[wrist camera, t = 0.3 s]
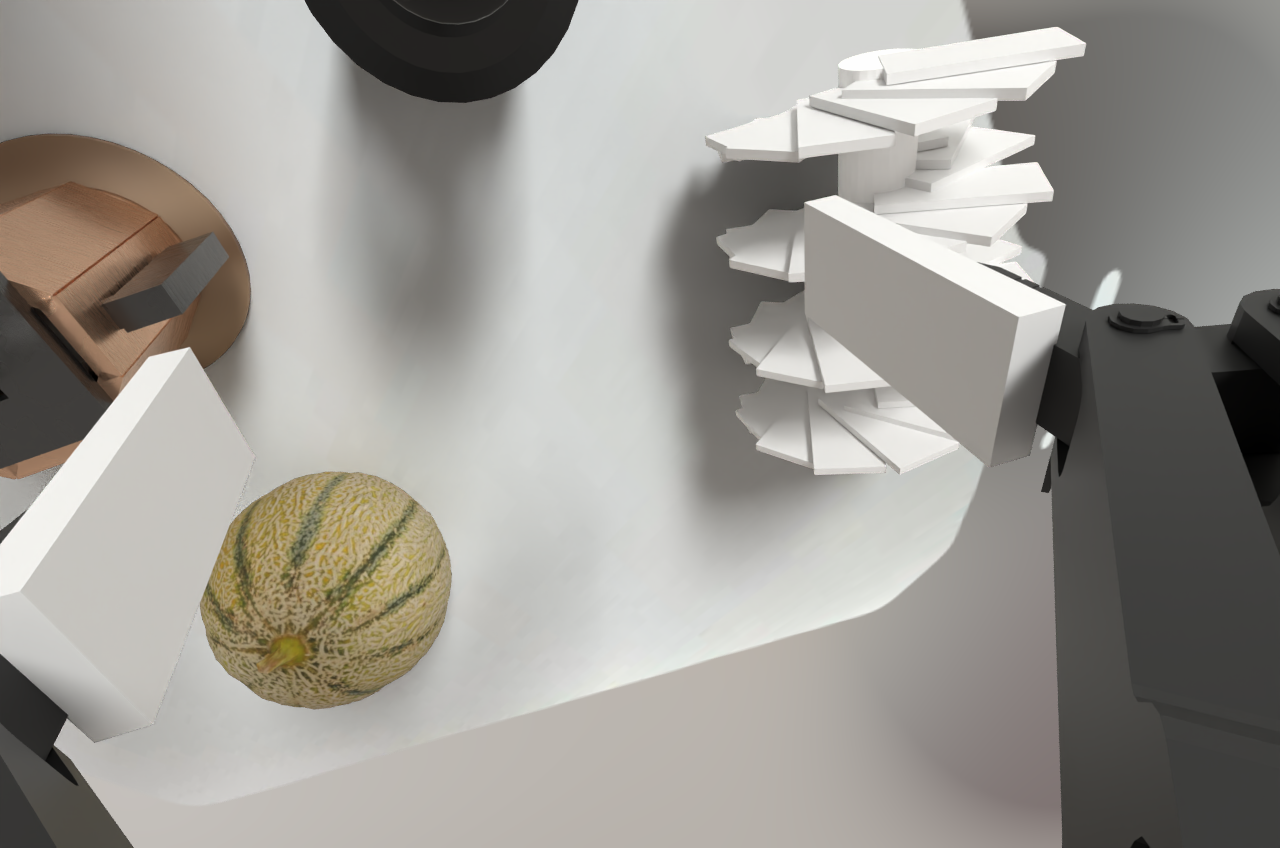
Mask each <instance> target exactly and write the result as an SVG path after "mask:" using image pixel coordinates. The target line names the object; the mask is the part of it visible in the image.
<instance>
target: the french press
mask: <svg viewBox="0 0 1280 848" xmlns="http://www.w3.org/2000/svg"><path fill="white" fill-rule="evenodd" d="M305 2H306V4H307V6H308V8H309V10H310V11H311V13H312V15H313V16H314V17H315V18H316V20H317V21H318V22H319V24H320V25H321V26H322V28H323V29H324V30H325V32H326V33H327V34H328V36H329V37H330V38H331V39H332V41H333V42H334V43H335V44H336V45H337V46H338V47H339V48H340V49H341V50H342V51H344V52H345V53H346V54H347V55H348V56H349V57H350V58H351V59H352V60H353V61H354V62H355V63H356V64H357V65H358V66H360V67H361V68H363V69H364V70H366V71H367V72H369V73H370V74H372V75H373V76H375V77H376V78H377V79H379V80H380V81H382V82H383V83H385V84H387V85H390V86H392V87H394V88H396V89H399V90H401V91H403V92H405V93H407V94H410V95H412V96H416V97H421V98H425V99H429V100H433V101H437V102H458V103H467V102H472V101H478V100H483V99H489V98H492V97H495V96H497V95H500V94H502V93H504V92H507V91H509V90H511V89H514V88H516V87H517V86H518V85H520V84H521V83H522V82H524V81H525V80H527V79H528V78H529V77H531V76H532V75H534V74H535V73H536V72H537V71H538V70H539V69H540V68H541V67H542V66H543V64H544V63H545V62H546V61H547V60H548V59H549V58H550V57H551V56H552V54H553V53H554V52H555V50H556V49H557V47H558V45H559V43H560V42H561V40H562V38H563V37H564V35H565V33H566V32H567V30H568V28H569V25H570V22H571V20H572V17H573V14H574V11H575V8H576V6H577V3H578V0H305Z"/></svg>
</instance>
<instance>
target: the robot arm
mask: <svg viewBox="0 0 1280 848" xmlns="http://www.w3.org/2000/svg"><path fill="white" fill-rule="evenodd" d="M804 257H805V315H806V316H808V317H809V318H810V319H811V320H812V321H814V322H815V323H816V324H817V325H818V326H820V327H821V328H822V329H823V330H824V331H826V332H827V333H828V334H829V335H830V336H832V337H833V338H834V339H835V340H836V341H838V342H839V343H840V344H841V345H842V346H844V347H845V348H846V349H847V350H848V351H850V352H851V353H852V354H853V355H854V356H856V357H857V358H858V359H859V360H860V361H862V362H863V363H864V364H865V365H866V366H868V367H869V368H870V369H871V370H872V371H874V372H875V373H876V374H877V375H878V376H880V377H881V378H882V379H883V380H884V381H886V382H887V383H888V384H889V385H890V386H892V387H893V388H894V389H895V390H896V391H898V392H899V393H900V394H901V395H902V396H904V397H905V398H906V399H907V400H909V401H910V402H911V403H912V404H913V405H915V406H916V407H917V408H918V409H919V410H921V411H922V412H923V413H924V414H925V415H927V416H928V417H929V418H930V419H931V420H933V421H934V422H935V423H936V424H937V425H939V426H940V427H941V428H942V429H943V430H945V431H946V432H947V433H948V434H949V435H951V436H952V437H953V438H954V439H955V440H957V441H958V442H959V443H960V444H961V445H963V446H964V447H965V448H966V449H967V450H969V451H970V452H971V453H972V454H973V455H975V456H976V457H977V458H978V459H979V460H981V461H982V462H983V463H984V464H985V465H987V466H988V467H989V468H990V467H994V466H997V465H1000V464H1003V463H1006V462H1010V461H1013V460H1017V459H1020V458H1023V457H1026V456H1030V453H1031V449H1032V444H1033V440H1034V436H1035V432H1036V427H1037V424H1038V425H1039V426H1041V427H1043V428H1044V429H1045V430H1047V431H1048V432H1050V433H1051V434H1052V435H1054V436H1055V441H1054V444H1053V448H1052V452H1051V456H1050V460H1049V464H1048V467H1047V471H1046V475H1045V479H1044V483H1043V487H1042V490H1041V492H1046V493H1049V491H1050V489H1052V521H1053V550H1054V551H1053V553H1054V586H1055V614H1056V615H1055V616H1056V649H1057V681H1058V712H1059V743H1060V774H1061V776H1060V777H1061V808H1062V848H1280V289H1271V290H1263V291H1256V292H1253V293H1250V294H1248V295H1245V296H1243V298H1242V300H1241V301H1240V303H1239V306H1238V309H1237V311H1236V313H1235V316H1234V318H1233V321H1232V324H1227V325H1215V326H1202V327H1194V326H1193V325H1192V323H1191V322H1190V321H1189V320H1188V319H1187V318H1185V317H1184V316H1182V315H1179V314H1177V313H1176V312H1173V311H1171V310H1167V309H1163V308H1160V307H1156V306H1150V305H1141V304H1112V305H1107V306H1103V307H1098V308H1097V309H1095V310H1091V309H1089V308H1087V307H1085V306H1083V305H1081V304H1079V303H1076V302H1074V301H1072V300H1070V299H1068V298H1066V297H1063V296H1061V295H1059V294H1057V293H1055V292H1053V291H1051V290H1048V289H1046V288H1044V287H1043V288H1039V285H1038V284H1036V283H1033V282H1031V281H1029V280H1027V279H1024V280H1022V277H1020V276H1018V275H1016V274H1014V273H1012V272H1010V271H1008V270H1005V269H1003V268H1001V267H997V266H993V265H988V264H984V263H979V262H976V261H973V260H971V259H969V258H967V257H965V256H963V255H961V254H959V253H957V252H954V251H952V250H950V249H948V248H946V247H944V246H942V245H940V244H938V243H936V242H933V241H931V240H929V239H927V238H925V237H923V236H921V235H919V234H917V233H915V232H912V231H910V230H908V229H906V228H904V227H902V226H900V225H898V224H896V223H893V222H891V221H889V220H887V219H885V218H883V217H881V216H879V215H877V214H875V213H872V212H870V211H868V210H866V209H864V208H862V207H860V206H858V205H856V204H854V203H851V202H849V201H847V200H845V199H843V198H841V197H839V196H837V195H833V196H829V197H825V198H821V199H816V200H812V201H808V202H804ZM255 458H256V457H255V455H254V453H253V452H252V450H251V448H250V447H249V445H248V443H247V442H246V440H245V438H244V437H243V435H242V433H241V432H240V430H239V428H238V427H237V425H236V423H235V422H234V420H233V418H232V417H231V415H230V413H229V412H228V410H227V408H226V407H225V405H224V403H223V402H222V400H221V398H220V397H219V395H218V393H217V392H216V390H215V388H214V387H213V385H212V383H211V382H210V380H209V378H208V377H207V375H206V373H205V372H204V370H203V368H202V366H201V365H200V363H199V361H198V360H197V358H196V356H195V355H194V353H193V351H192V350H191V348H190V347H188V348H184V349H180V350H176V351H171V352H167V353H163V354H159V355H154V356H150V357H148V359H147V360H146V361H145V362H144V364H143V365H142V366H141V367H140V369H139V370H138V371H137V372H136V374H135V375H134V376H133V377H132V379H131V380H130V381H129V383H128V384H127V385H126V386H125V388H124V389H123V390H122V391H121V393H120V394H119V395H118V396H117V398H116V399H115V400H114V401H113V403H112V404H111V405H110V406H109V408H108V409H107V410H106V412H105V413H104V414H103V415H102V417H101V418H100V419H99V420H98V422H97V423H96V424H95V425H94V427H93V428H92V429H91V430H90V432H89V433H88V434H87V436H86V437H85V438H84V439H83V441H82V442H81V443H80V444H79V446H78V447H77V448H76V449H75V451H74V452H73V453H72V454H71V456H70V457H69V458H68V460H67V461H66V462H65V463H64V465H63V466H62V467H61V468H60V470H59V471H58V472H57V473H56V475H55V476H54V477H53V478H52V480H51V481H50V482H49V484H48V485H47V486H46V487H45V489H44V490H43V491H42V492H41V494H40V495H39V496H38V497H37V499H36V500H35V501H34V502H33V504H32V505H31V506H30V507H29V509H27V510H26V511H25V512H24V513H22V514H21V515H20V516H19V517H17V518H16V519H15V520H13V521H12V522H11V523H10V524H8V525H7V526H6V527H5V528H3V529H2V530H1V531H0V848H133V846H132V845H131V844H130V842H129V840H128V839H127V838H126V836H125V835H124V834H123V832H122V831H121V829H120V828H119V826H118V825H117V824H116V822H115V821H114V819H113V818H112V817H111V815H110V814H109V813H108V811H107V810H106V808H105V807H104V805H103V804H102V803H101V801H100V800H99V799H98V797H97V796H96V794H95V793H94V792H93V790H92V789H91V788H90V786H89V785H88V783H87V782H86V781H85V779H84V778H83V776H82V775H81V773H80V772H79V771H78V769H77V768H76V766H75V765H74V764H73V762H72V761H71V759H69V758H68V757H67V756H66V755H65V754H64V753H62V752H61V751H60V750H59V749H58V748H56V747H55V746H54V743H55V741H56V739H57V737H58V735H59V733H60V731H61V729H62V727H63V725H64V723H65V721H66V719H69V720H70V721H71V722H72V723H73V724H74V725H75V726H76V727H77V728H79V729H80V730H81V731H82V732H83V733H84V734H85V735H86V736H87V737H89V738H90V739H91V740H92V741H93V742H94V743H95V742H98V741H102V740H105V739H108V738H112V737H115V736H118V735H121V734H125V733H128V732H131V731H134V730H138V729H141V728H144V727H147V726H151V725H153V724H154V722H155V719H156V716H157V714H158V711H159V709H160V706H161V703H162V701H163V698H164V696H165V693H166V690H167V688H168V685H169V682H170V680H171V677H172V675H173V672H174V669H175V667H176V664H177V662H178V659H179V656H180V654H181V651H182V648H183V646H184V643H185V641H186V638H187V635H188V633H189V630H190V628H191V625H192V622H193V620H194V617H195V614H196V612H197V609H198V607H199V604H200V601H201V599H202V596H203V594H204V591H205V588H206V586H207V583H208V581H209V578H210V575H211V573H212V570H213V567H214V565H215V562H216V560H217V557H218V554H219V552H220V549H221V547H222V544H223V541H224V539H225V536H226V533H227V531H228V528H229V526H230V523H231V520H232V518H233V515H234V513H235V510H236V507H237V505H238V502H239V500H240V497H241V494H242V492H243V489H244V486H245V484H246V481H247V479H248V476H249V473H250V471H251V468H252V466H253V463H254V460H255Z"/></svg>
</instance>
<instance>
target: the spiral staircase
mask: <svg viewBox="0 0 1280 848" xmlns="http://www.w3.org/2000/svg"><path fill="white" fill-rule="evenodd" d="M1085 46H1086V43H1085V42H1083V41H1081V40H1079V39H1077V38H1076V37H1074V36H1072V35H1071V34H1069V33H1067V32H1065V31H1064V30H1062V29H1060V28H1058V27H1053V28H1047V29H1040V30H1034V31H1028V32H1022V33H1016V34H1009V35H1003V36H997V37H991V38H984V39H978V40H972V41H966V42H959V43H953V44H947V45H941V46H935V47H928V48H922V49H888V50H880V51H874V52H868V53H864V54H860V55H856V56H853V57H850V58H847V59H845V60H843V61H842V62H840V63H839V65H838V88H834V89H831V90H828V91H824V92H821V93H817V94H814V95H811V96H809V98H805V99H798V100H797V105H796V106H794V107H793V108H791V109H789V110H788V111H786V112H784V113H781V114H778V115H775V116H771V117H768V118H756V119H755V120H754V121H752V122H751V123H748V124H745V125H741V126H738V127H735V128H731V129H728V130H725V131H721V132H718V133H715V134H711V135H708V136H705V139H706V146H708V147H711V148H713V149H715V150H717V151H718V154H719V156H720V159H721V161H722V163H724V162H729V161H735V160H737V161H742V160H745V159H747V160H764V161H781V162H798V163H799V162H801V161H802V160H804V159H805V158H808V157H816V156H823V155H831V154H838V196H839V197H841V198H843V199H845V200H847V201H849V202H851V203H854V204H856V205H858V206H860V207H862V208H864V209H866V210H868V211H870V212H872V213H875V214H877V215H879V216H881V217H883V218H885V219H887V220H889V221H891V222H893V223H896V224H898V225H900V226H902V227H904V228H906V229H908V230H910V231H912V232H915V233H917V234H919V235H921V236H923V237H925V238H927V239H929V240H931V241H933V242H936V243H938V244H940V245H942V246H944V247H946V248H948V249H950V250H952V251H954V252H957V253H959V254H961V255H963V256H965V257H967V258H969V259H971V260H973V261H976V262H979V263H984V264H988V265H993V266H997V267H1001V268H1003V269H1005V270H1008V271H1010V272H1012V273H1014V274H1016V275H1018V276H1020V277H1022V280H1024V279H1027V280H1029V281H1031V282H1033V280H1032V279H1031V278H1030V277H1029V276H1028V275H1027V274H1026V272H1025V271H1024V270H1023V269H1022V268H1021V267H1020V266H1019V264H1018V263H1017V262H1009V263H1002V262H1005V261H1007V260H1009V259H1011V258H1013V257H1015V256H1018V255H1020V254H1021V251H1022V246H1020V245H1017V244H1014V243H1011V242H1007V241H1004V240H1001V239H999V238H1000V237H1001V236H1002V235H1003V234H1004V233H1006V232H1007V231H1008V230H1009V229H1010V228H1011V227H1012V226H1013V225H1014V224H1015V223H1016V222H1017V221H1018V220H1019V219H1020V218H1021V217H1022V216H1023V215H1024V214H1026V209H1027V204H1026V203H1032V202H1045V201H1052V198H1053V193H1054V190H1053V189H1052V187H1051V185H1050V183H1049V182H1048V180H1047V178H1046V177H1045V175H1044V173H1043V171H1042V170H1041V168H1040V166H1039V164H1038V163H1037V162H1034V163H1023V164H1012V165H1002V166H991V167H987V166H989V165H991V164H993V163H995V162H998V161H1000V160H1002V159H1004V158H1006V157H1008V156H1010V155H1012V154H1015V153H1017V152H1019V151H1021V150H1023V149H1025V148H1027V147H1029V146H1032V145H1034V140H1035V135H1029V134H1022V133H1015V132H1008V131H1000V130H994V129H987V128H980V127H973V126H972V124H973V122H974V118H975V117H978V116H981V115H984V114H987V113H990V112H993V111H996V106H997V101H1006V100H1007V101H1015V100H1016V101H1017V100H1019V101H1025V100H1026V99H1028V97H1030V96H1031V95H1032V94H1033V93H1034V92H1035V91H1036V90H1037V89H1038V88H1039V87H1040V86H1041V85H1042V84H1043V83H1044V82H1046V81H1047V80H1048V79H1049V77H1051V76H1052V75H1053V74H1054V73H1055V68H1056V61H1053V60H1059V59H1065V58H1073V57H1079V56H1083V55H1084V51H1085ZM716 240H717V245H718V246H719V247H720V248H721V249H722V250H724V251H725V252H726V253H727V254H728V255H729V265H730V268H733V269H737V270H742V271H746V272H750V273H755V274H759V275H763V276H768V277H772V278H777V279H781V280H785V281H789V282H805V257H804V208H802V209H800V210H797V211H791V210H773V209H769V210H768V211H767V212H766V213H765V214H764V215H763V216H762V217H760V218H759V219H758V220H757V221H756V222H755V223H754V224H753V225H749V226H742V227H736V228H729V229H726V234H724V235H721V236H717V237H716ZM1000 263H1002V264H1000ZM1033 283H1034V282H1033ZM730 329H731V335H732V337H733V338H732V339H730V340H729V347H731V348H732V349H733V350H735V351H736V352H737V353H739V354H740V355H741V356H742V358H743V360H744V362H745V364H746V365H747V364H751V363H752V364H753V365H755V366H756V367H757V368H756V374H757V376H760V377H765V378H766V379H765V380H764V382H763V384H762V385H761V387H760V389H759V391H758V392H756V393H750V394H744V395H740V402H741V405H742V408H740V409H737V410H736V416H737V417H738V418H739V419H740V420H741V421H742V422H743V424H744V425H745V426H746V427H747V428H748V430H749V433H750V434H754V435H755V436H756V438H757V439H758V440H759V441H758V442H757V443H756V450H757V451H760V452H763V453H766V454H769V455H772V456H775V457H778V458H781V459H784V460H787V461H790V462H793V463H796V464H799V465H802V466H805V467H808V468H811V469H814V475H830V474H860V473H886V463H887V464H888V465H889V466H890V467H891V468H892V469H894V470H895V471H896V472H897V473H898V474H899V475H901V474H903V473H905V472H907V471H910V470H912V469H914V468H916V467H919V466H921V465H923V464H925V463H928V462H930V461H932V460H934V459H937V458H939V457H941V456H943V455H946V454H948V453H950V452H952V451H955V450H957V449H959V442H958V441H957V440H955V439H954V438H953V437H952V436H951V435H949V434H948V433H947V432H946V431H945V430H943V429H942V428H941V427H940V426H939V425H937V424H936V423H935V422H934V421H933V420H931V419H930V418H929V417H928V416H927V415H925V414H924V413H923V412H922V411H921V410H919V409H918V408H917V407H916V406H915V405H913V404H912V403H911V402H910V401H909V400H907V399H906V398H905V397H904V396H902V395H901V394H900V393H899V392H898V391H896V390H895V389H894V388H893V387H892V386H890V385H889V384H888V383H887V382H886V381H884V380H883V379H882V378H881V377H880V376H878V375H877V374H876V373H875V372H874V371H872V370H871V369H870V368H869V367H868V366H866V365H865V364H864V363H863V362H862V361H860V360H859V359H858V358H857V357H856V356H854V355H853V354H852V353H851V352H850V351H848V350H847V349H846V348H845V347H844V346H842V345H841V344H840V343H839V342H838V341H836V340H835V339H834V338H833V337H832V336H830V335H829V334H828V333H827V332H826V331H824V330H823V329H822V328H821V327H820V326H818V325H817V324H816V323H815V322H814V321H812V320H811V319H810V318H809V317H808V316H806V315H805V290H803V291H802V292H800V293H798V294H797V295H795V296H793V297H792V298H790V299H788V300H786V301H785V302H761V303H760V305H759V307H758V308H757V310H756V312H755V314H754V316H753V318H752V320H751V322H750V323H749V324H745V325H740V326H736V327H731V328H730ZM885 462H886V463H885Z"/></svg>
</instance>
